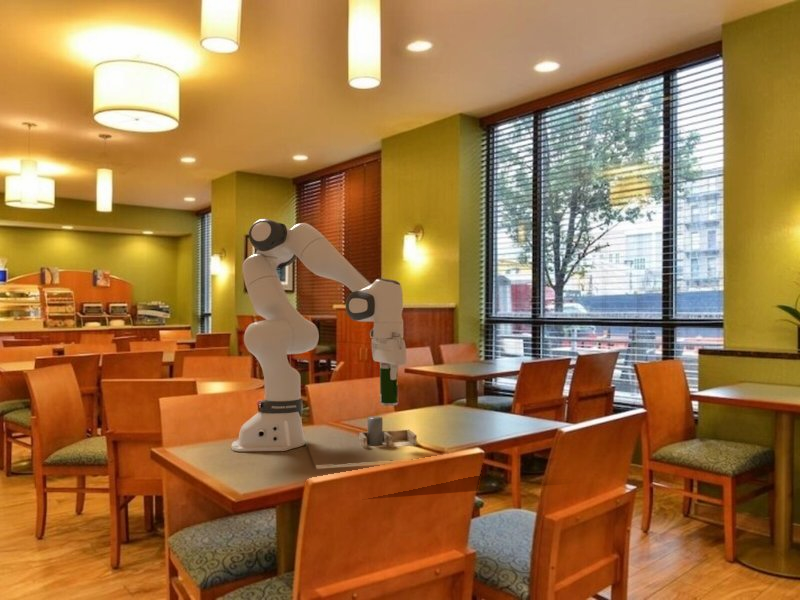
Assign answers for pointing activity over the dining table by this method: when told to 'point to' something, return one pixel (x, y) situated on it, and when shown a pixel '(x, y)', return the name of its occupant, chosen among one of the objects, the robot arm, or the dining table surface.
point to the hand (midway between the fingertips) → (388, 378)
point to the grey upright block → (374, 431)
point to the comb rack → (391, 439)
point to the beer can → (388, 387)
